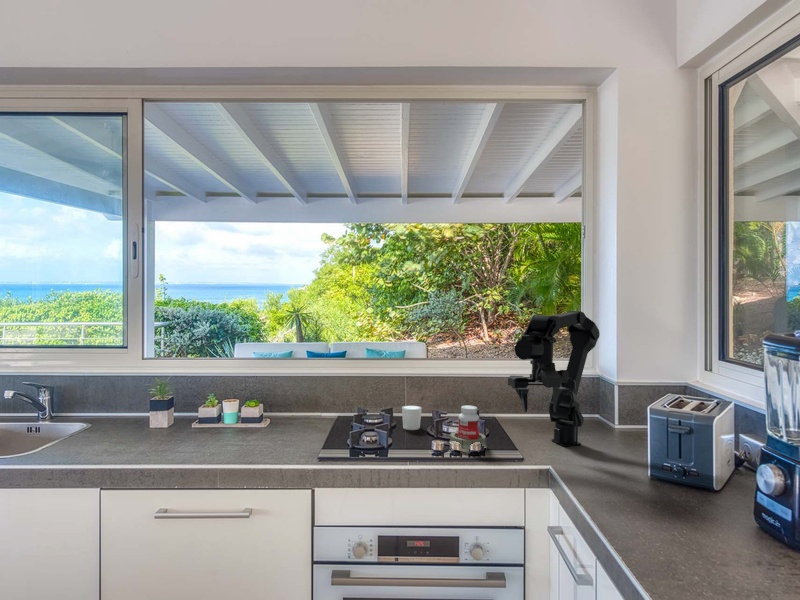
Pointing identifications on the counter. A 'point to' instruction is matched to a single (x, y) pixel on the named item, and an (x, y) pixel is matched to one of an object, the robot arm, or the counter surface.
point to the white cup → (411, 417)
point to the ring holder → (467, 441)
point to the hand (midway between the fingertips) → (540, 411)
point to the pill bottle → (468, 423)
